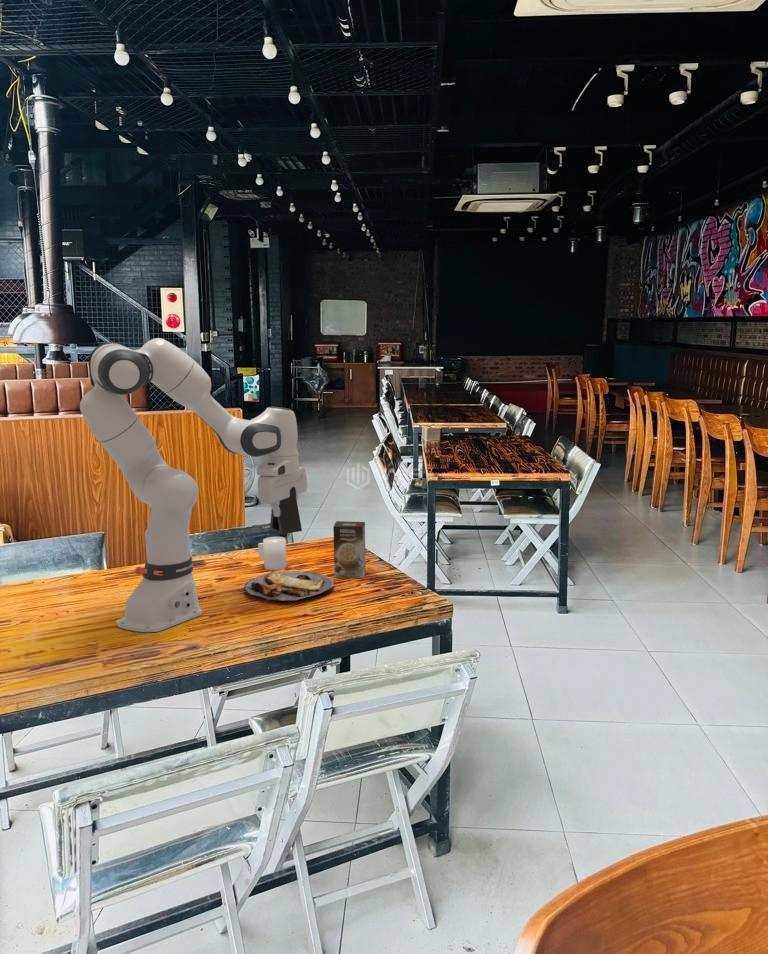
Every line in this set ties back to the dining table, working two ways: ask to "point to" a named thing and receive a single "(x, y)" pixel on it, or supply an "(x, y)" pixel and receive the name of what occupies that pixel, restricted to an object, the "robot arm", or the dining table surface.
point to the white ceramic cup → (273, 553)
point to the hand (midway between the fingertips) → (285, 513)
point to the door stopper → (287, 515)
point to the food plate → (288, 585)
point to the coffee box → (349, 549)
